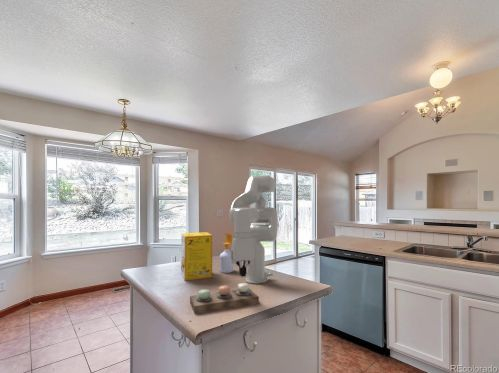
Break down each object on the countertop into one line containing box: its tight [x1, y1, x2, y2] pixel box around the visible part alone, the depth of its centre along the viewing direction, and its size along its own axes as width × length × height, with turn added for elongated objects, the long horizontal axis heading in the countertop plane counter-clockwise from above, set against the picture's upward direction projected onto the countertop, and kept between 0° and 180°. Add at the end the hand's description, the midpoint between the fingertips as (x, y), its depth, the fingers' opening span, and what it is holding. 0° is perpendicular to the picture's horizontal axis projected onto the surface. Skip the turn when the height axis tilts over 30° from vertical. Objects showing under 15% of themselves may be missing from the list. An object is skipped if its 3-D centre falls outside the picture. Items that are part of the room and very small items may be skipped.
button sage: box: [197, 288, 210, 299], centre depth 111 cm, size 5×5×2 cm
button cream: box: [237, 282, 250, 292], centre depth 118 cm, size 5×5×2 cm
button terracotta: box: [218, 285, 231, 295], centre depth 114 cm, size 5×5×2 cm
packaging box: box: [180, 231, 213, 281], centre depth 159 cm, size 16×16×25 cm
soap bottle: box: [219, 232, 235, 274], centre depth 168 cm, size 9×9×25 cm
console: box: [189, 288, 260, 315], centre depth 114 cm, size 28×12×4 cm, turn 111°
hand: (242, 275), depth 118 cm, fingers closed
